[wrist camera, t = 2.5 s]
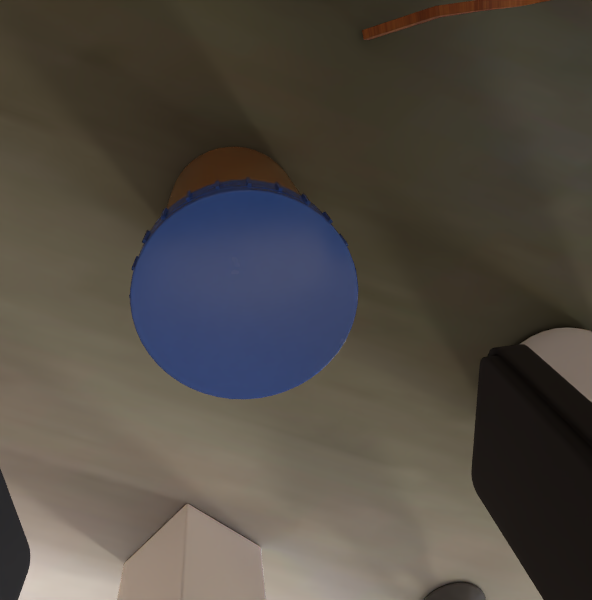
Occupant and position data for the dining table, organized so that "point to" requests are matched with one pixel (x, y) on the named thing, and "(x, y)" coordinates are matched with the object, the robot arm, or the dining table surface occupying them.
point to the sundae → (457, 592)
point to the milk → (194, 563)
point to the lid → (243, 290)
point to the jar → (228, 170)
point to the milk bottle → (567, 355)
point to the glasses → (441, 14)
